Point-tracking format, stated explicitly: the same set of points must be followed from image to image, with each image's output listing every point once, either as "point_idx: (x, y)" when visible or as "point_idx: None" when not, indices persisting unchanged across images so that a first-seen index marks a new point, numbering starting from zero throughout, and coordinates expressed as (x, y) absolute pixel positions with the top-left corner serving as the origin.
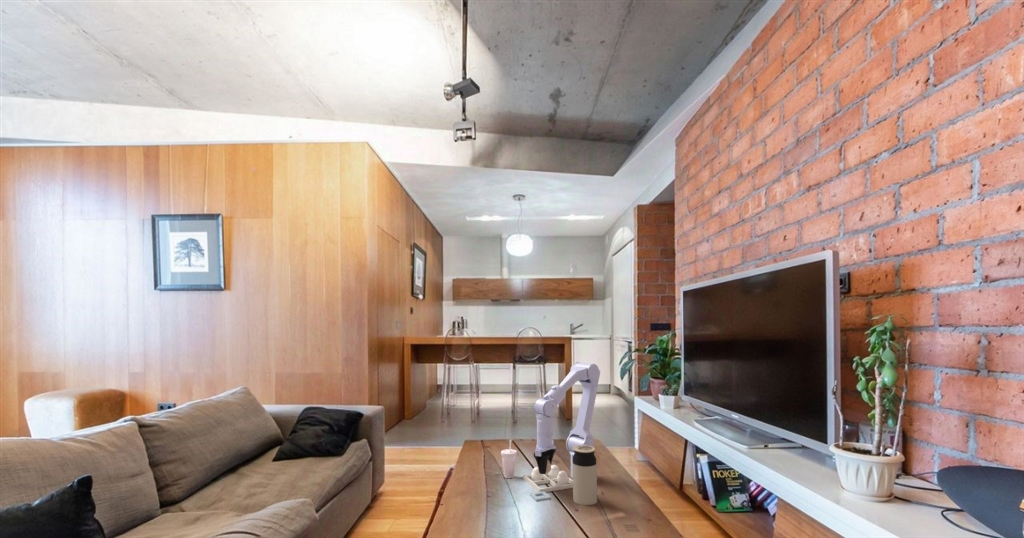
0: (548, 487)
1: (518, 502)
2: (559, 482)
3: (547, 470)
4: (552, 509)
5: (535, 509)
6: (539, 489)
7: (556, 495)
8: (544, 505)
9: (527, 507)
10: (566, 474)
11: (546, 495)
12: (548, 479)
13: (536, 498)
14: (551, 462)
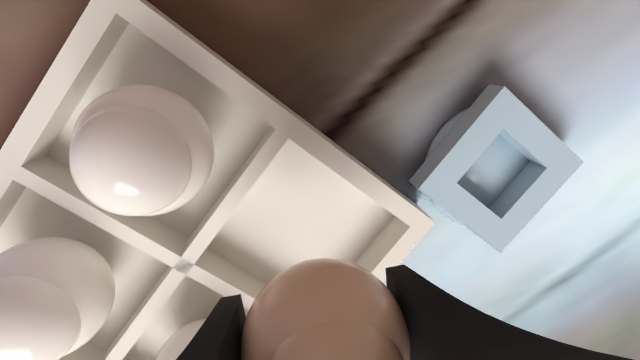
0: (366, 183)
1: (563, 258)
2: (213, 153)
3: (371, 274)
4: (598, 11)
5: (630, 117)
6: (433, 223)
7: (348, 104)
8: (553, 95)
9: (615, 175)
10: (122, 113)
11: (487, 131)
12: (194, 272)
13: (568, 166)
14: (203, 341)
